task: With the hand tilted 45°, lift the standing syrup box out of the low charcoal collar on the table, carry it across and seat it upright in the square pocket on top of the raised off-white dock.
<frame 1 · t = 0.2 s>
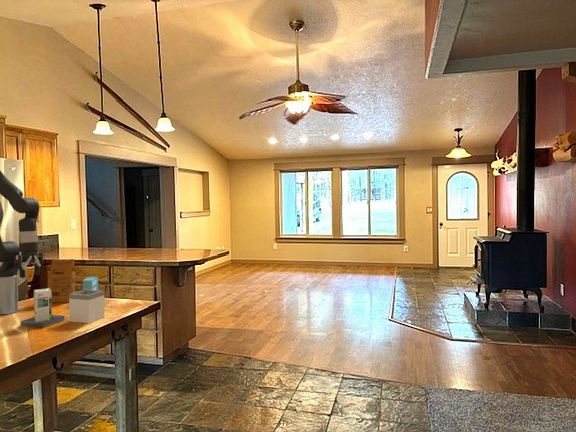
hand: (30, 276, 195), 18 cm above the table, tool pointing down, fingers open, 8 cm apart
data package: (90, 301, 223), on the table
syrup box: (43, 323, 183), resting in lower collar
lower collar: (43, 323, 183), on the table
raised dock: (87, 319, 189), on the table
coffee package: (62, 301, 223), on the table
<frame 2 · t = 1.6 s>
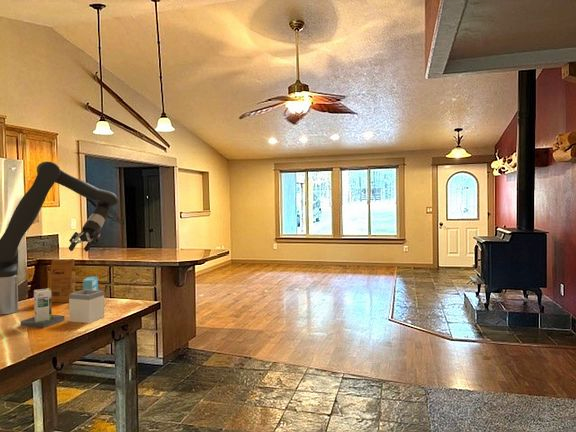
hand: (77, 250, 202), 29 cm above the table, tool tilted 45°, fingers open, 8 cm apart
nothing on the table moved.
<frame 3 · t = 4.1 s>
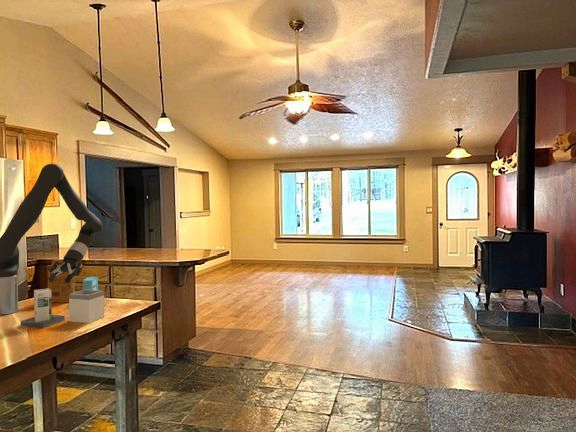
hand: (58, 282, 190), 16 cm above the table, tool tilted 45°, fingers open, 8 cm apart
nothing on the table moved.
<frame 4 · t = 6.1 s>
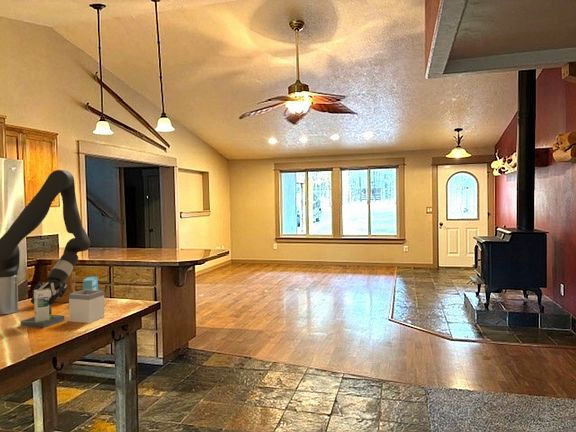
hand: (40, 303, 181), 9 cm above the table, tool tilted 45°, fingers open, 8 cm apart
syrup box: (43, 323, 183), resting in lower collar, touching gripper
everything else where it was.
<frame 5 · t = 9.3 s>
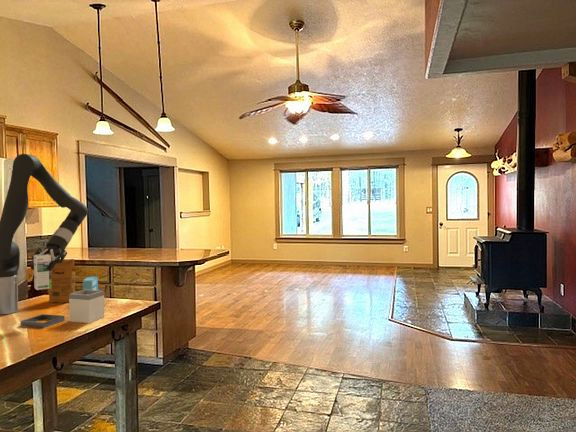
hand: (40, 269, 181), 23 cm above the table, tool tilted 45°, fingers closed on syrup box, 8 cm apart
syrup box: (42, 288, 182), point 15 cm above the table, touching gripper
everything else where it was.
when the fingers open (20 cm above the table, at t = 12.2 s): syrup box drops 1 cm, resting on raised dock.
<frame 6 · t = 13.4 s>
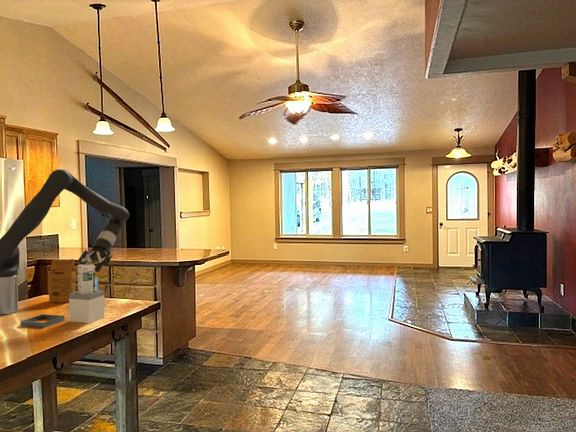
hand: (87, 270, 189), 22 cm above the table, tool tilted 45°, fingers open, 8 cm apart
syrup box: (86, 297, 189), point 10 cm above the table, touching raised dock
everything else where it was.
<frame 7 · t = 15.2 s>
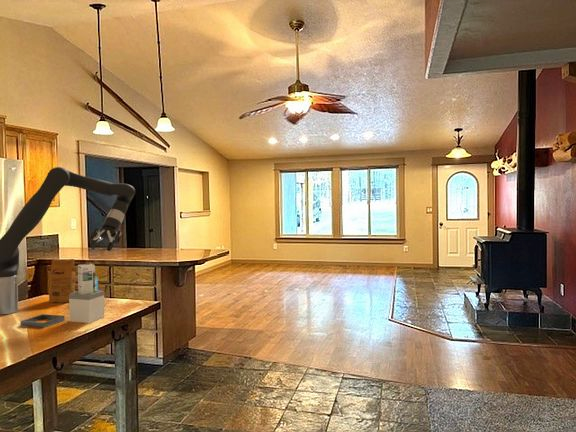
hand: (100, 249, 201), 30 cm above the table, tool tilted 35°, fingers open, 8 cm apart
nothing on the table moved.
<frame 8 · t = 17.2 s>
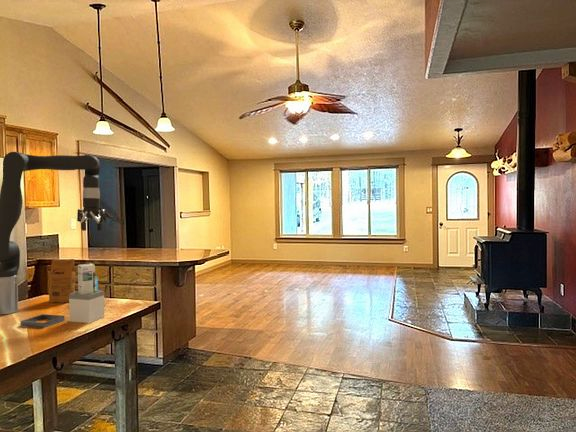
hand: (91, 230, 206), 38 cm above the table, tool pointing down, fingers open, 8 cm apart
nothing on the table moved.
at the end: syrup box 0.3 cm off-centre on the raised dock, point 9.8 cm above the raised dock's base; syrup box tilted 0°; the gripper is holding nothing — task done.
